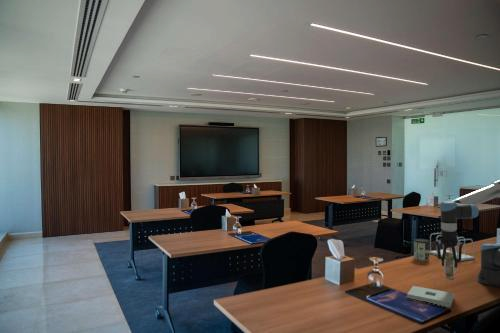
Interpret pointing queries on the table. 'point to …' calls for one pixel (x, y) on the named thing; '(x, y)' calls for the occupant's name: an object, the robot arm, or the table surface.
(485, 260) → the robot arm
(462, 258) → the file sorter
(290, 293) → the table surface
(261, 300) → the table surface
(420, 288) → the board
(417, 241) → the coffee can
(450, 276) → the peg
